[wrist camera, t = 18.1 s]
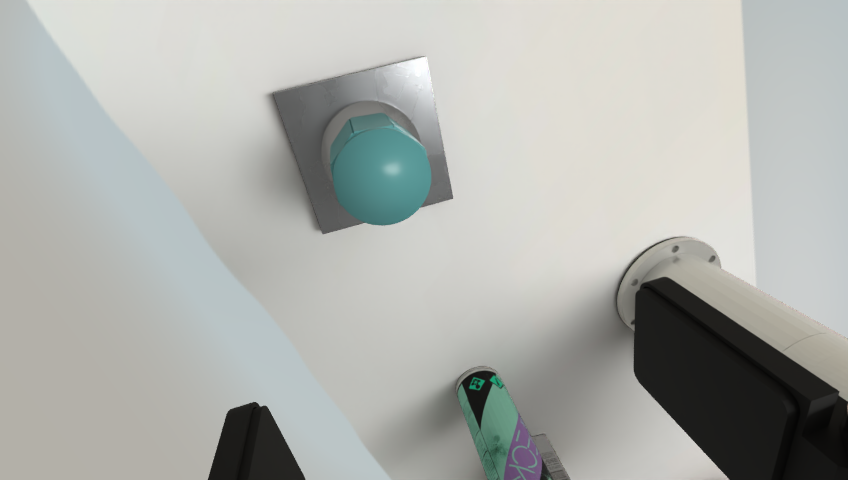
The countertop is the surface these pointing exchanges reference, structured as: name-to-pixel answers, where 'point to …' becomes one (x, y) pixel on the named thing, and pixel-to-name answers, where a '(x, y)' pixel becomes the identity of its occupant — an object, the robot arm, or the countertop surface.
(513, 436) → the spray can
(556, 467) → the coffee box
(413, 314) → the countertop surface
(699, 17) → the countertop surface
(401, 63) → the acorn nut on plate
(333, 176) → the cap
